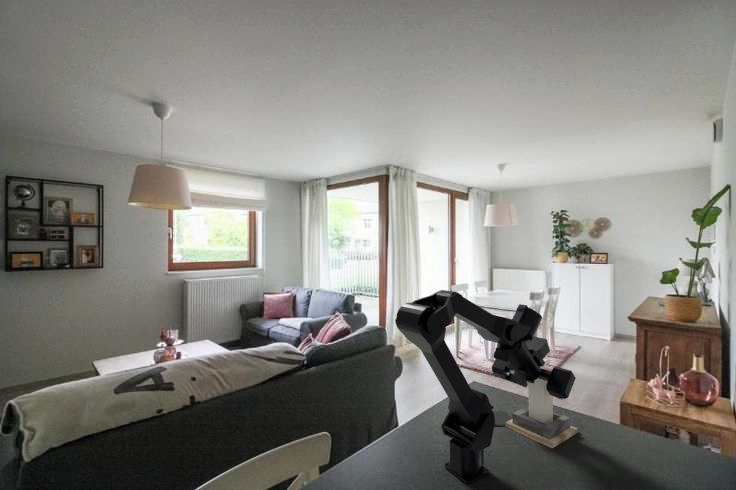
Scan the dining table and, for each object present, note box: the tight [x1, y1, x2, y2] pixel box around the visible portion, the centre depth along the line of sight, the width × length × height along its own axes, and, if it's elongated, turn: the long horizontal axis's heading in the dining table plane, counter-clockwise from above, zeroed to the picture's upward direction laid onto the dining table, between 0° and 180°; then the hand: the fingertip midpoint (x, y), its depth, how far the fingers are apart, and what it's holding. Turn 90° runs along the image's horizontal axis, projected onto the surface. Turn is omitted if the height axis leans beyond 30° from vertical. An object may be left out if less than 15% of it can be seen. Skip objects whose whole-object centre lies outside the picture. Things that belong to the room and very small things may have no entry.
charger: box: [527, 378, 554, 424], centre depth 88 cm, size 4×4×13 cm
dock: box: [504, 405, 579, 449], centre depth 88 cm, size 12×12×4 cm
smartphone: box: [493, 410, 512, 427], centre depth 93 cm, size 7×1×15 cm
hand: (543, 391), depth 89 cm, fingers open, 9 cm apart
